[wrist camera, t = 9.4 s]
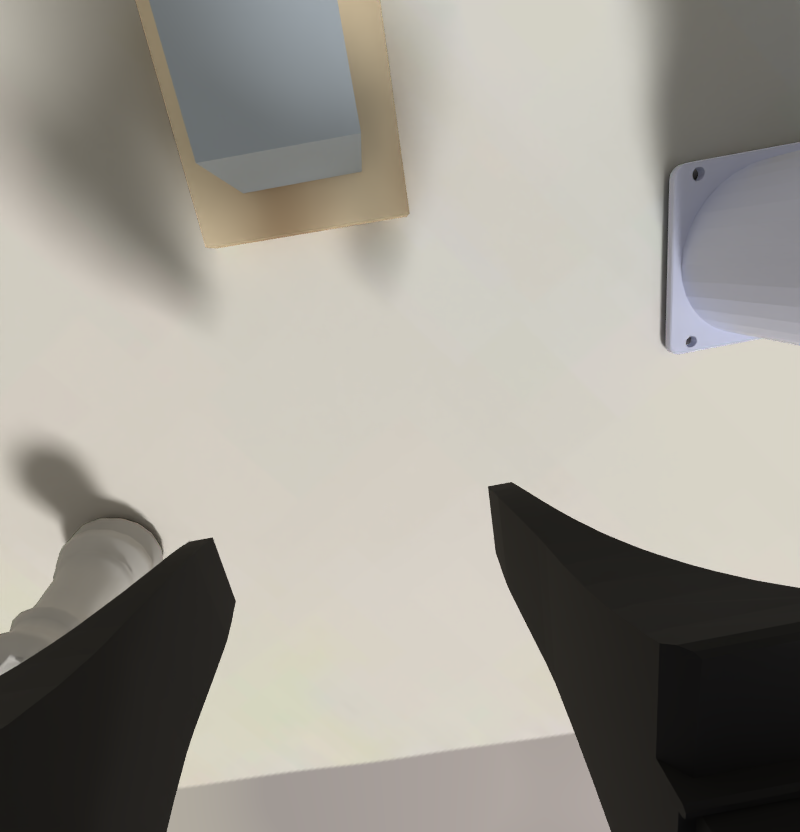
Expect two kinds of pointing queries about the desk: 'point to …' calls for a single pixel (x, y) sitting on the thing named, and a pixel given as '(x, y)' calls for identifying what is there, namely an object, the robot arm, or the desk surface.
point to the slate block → (262, 88)
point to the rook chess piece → (82, 584)
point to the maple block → (314, 200)
